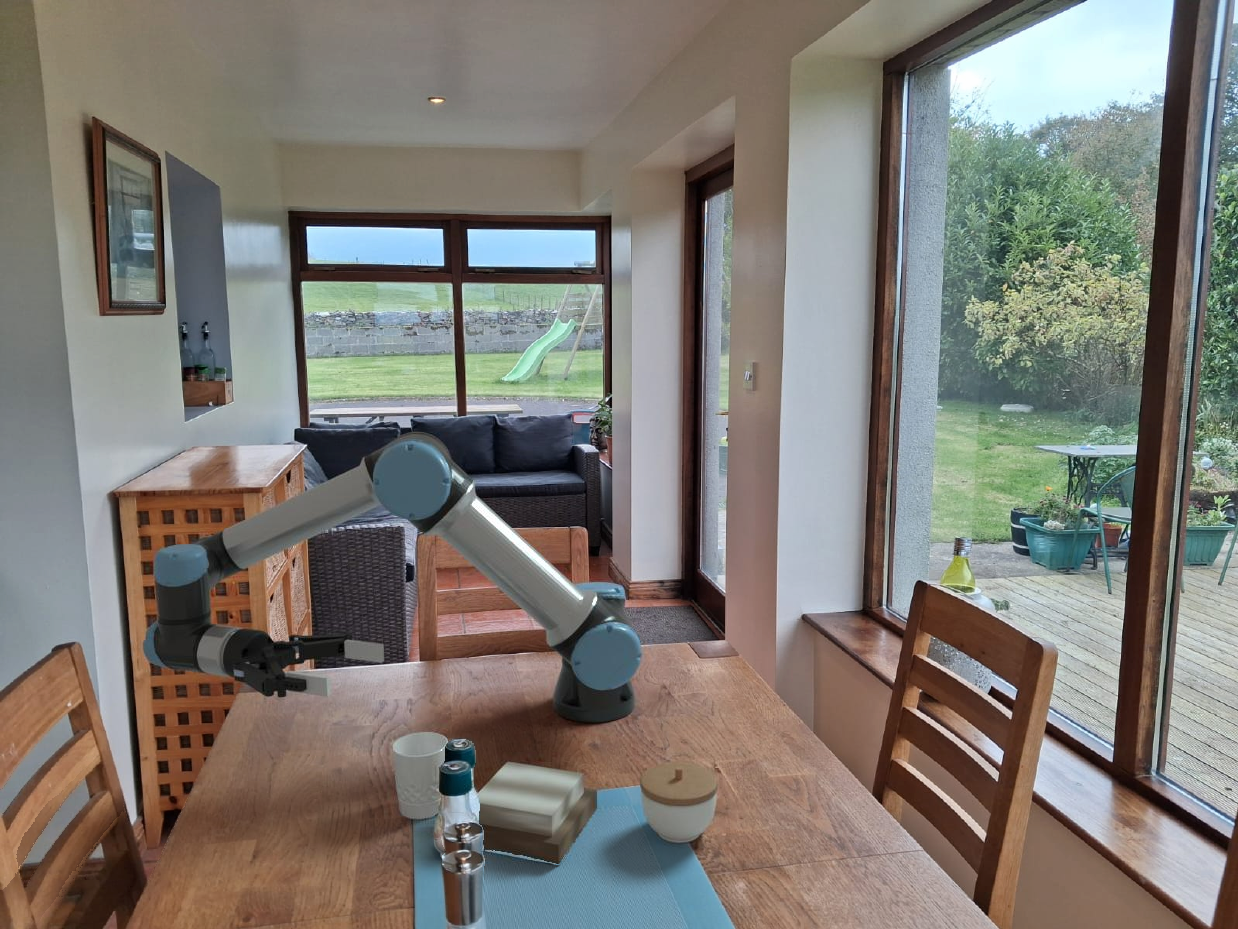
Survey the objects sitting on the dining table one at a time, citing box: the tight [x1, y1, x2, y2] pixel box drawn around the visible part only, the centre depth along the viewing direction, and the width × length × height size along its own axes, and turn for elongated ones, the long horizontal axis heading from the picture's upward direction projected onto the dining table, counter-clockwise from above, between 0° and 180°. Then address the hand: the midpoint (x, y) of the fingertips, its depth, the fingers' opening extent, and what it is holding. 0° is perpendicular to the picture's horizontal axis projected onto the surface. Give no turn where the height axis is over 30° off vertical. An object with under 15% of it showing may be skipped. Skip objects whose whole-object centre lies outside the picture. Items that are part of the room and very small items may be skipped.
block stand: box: [477, 761, 598, 864], centre depth 129 cm, size 15×15×6 cm
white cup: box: [392, 731, 449, 820], centre depth 134 cm, size 8×8×10 cm
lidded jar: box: [639, 761, 719, 844], centre depth 128 cm, size 11×11×9 cm
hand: (357, 669), depth 135 cm, fingers open, 13 cm apart
